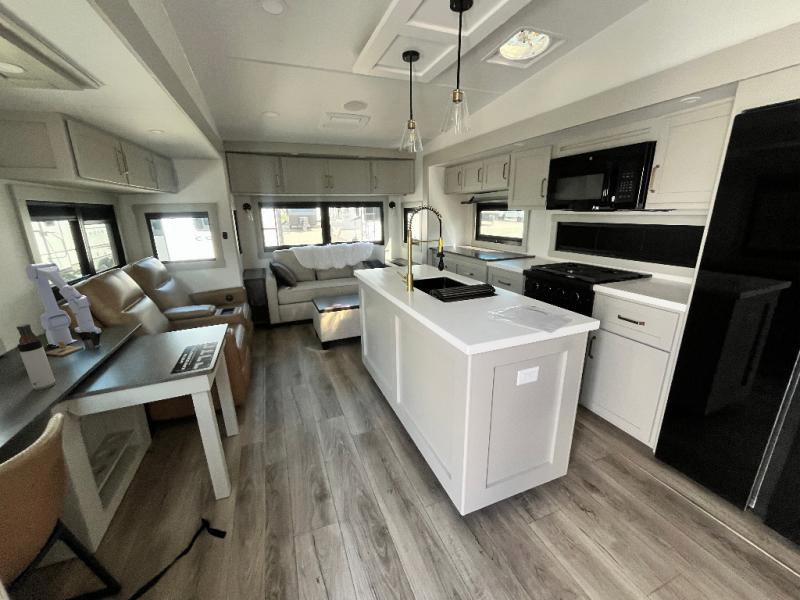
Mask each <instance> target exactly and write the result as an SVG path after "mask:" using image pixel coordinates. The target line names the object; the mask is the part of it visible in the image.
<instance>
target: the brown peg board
mask: <svg viewBox="0 0 800 600" xmlns="http://www.w3.org/2000/svg"><path fill="white" fill-rule="evenodd" d="M58 344H59V347H57V348H54V349H52V350H49V351H45V354H49V355H48V356H52V355H57V356H56V357H62V356H63V357H65V355H66V356H67V355H71V354H74V353H76V352H79V351H81V349H82V350H84V347H83V346H76V345H74V346H72V345H65V344H64V341H59V342H58ZM78 350H79V351H78ZM73 352H74V353H73Z"/></svg>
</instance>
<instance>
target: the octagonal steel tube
mask: <svg viewBox="0 0 800 600" xmlns="http://www.w3.org/2000/svg"><path fill="white" fill-rule="evenodd" d="M82 342H84V343H83V345H84V348H85V350H87V349H90V350H95V349H98V348H100V347H101V346H100V345H101V344H100V345H97V346H94V345H93V343H92V340H91V339H90V338H89V337H88V338H85V339H84V340H83V341H82ZM99 346H100V347H99ZM97 347H98V348H97ZM94 348H95V349H94Z"/></svg>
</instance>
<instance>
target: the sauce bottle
mask: <svg viewBox="0 0 800 600" xmlns="http://www.w3.org/2000/svg"><path fill="white" fill-rule="evenodd" d="M16 330H18V333H19V335H20V337H19V340H18V343H19V344H21V343H26V342H31V341H33V340H41V339H40V338H39V337H38V336H37V335H36V334H35V333H34V332H33V331H32V328H31V324H30V323H24V324H19V325H17V326H16Z"/></svg>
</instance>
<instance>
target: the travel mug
mask: <svg viewBox="0 0 800 600" xmlns="http://www.w3.org/2000/svg"><path fill="white" fill-rule="evenodd" d="M16 346H17V349H18V351H19V355H20V357H21V360H22V361H23V364H24V367H25V369H26V373H27V375H28V378H29V381H30V382H31V385H32V388H33V390H35V391H41V390H44V389H48V388H50V386H51V387H53V386H54V385H56V382H57V381H56V379H55V377H54V374H53V370H52V367H51V365H50V362H49V360H48V359H49V358H48V357H47V356H48V355H46V354H45V352H46V351H45V348H44V345H43V343H42V341H41V339H40V340H33V341H31V342H26V343H21V344H20V343H19V344H17V345H16ZM52 385H53V386H52Z"/></svg>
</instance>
